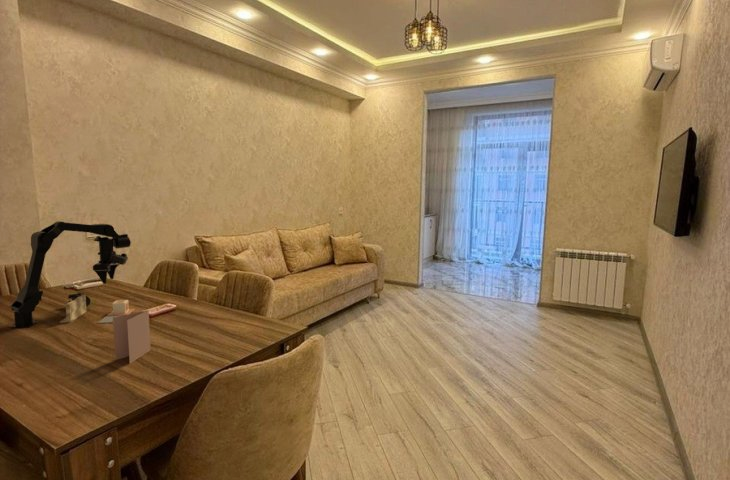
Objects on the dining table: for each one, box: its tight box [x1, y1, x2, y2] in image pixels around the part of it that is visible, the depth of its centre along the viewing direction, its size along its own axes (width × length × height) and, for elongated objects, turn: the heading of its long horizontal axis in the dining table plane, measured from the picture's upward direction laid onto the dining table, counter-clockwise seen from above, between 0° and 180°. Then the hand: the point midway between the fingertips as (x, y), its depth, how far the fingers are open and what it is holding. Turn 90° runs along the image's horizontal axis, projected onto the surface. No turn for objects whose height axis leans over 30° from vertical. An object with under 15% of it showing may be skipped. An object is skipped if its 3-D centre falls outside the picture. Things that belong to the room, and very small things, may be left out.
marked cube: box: [112, 299, 130, 314], centre depth 185 cm, size 5×5×5 cm
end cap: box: [67, 291, 91, 308], centre depth 192 cm, size 10×7×7 cm
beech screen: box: [59, 294, 88, 324], centre depth 178 cm, size 16×4×8 cm, turn 14°
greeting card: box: [112, 309, 152, 364], centre depth 137 cm, size 11×7×15 cm, turn 141°
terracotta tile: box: [106, 308, 136, 316], centre depth 185 cm, size 9×9×1 cm
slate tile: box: [97, 315, 123, 325], centre depth 176 cm, size 9×9×1 cm
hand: (108, 281), depth 194 cm, fingers open, 9 cm apart
